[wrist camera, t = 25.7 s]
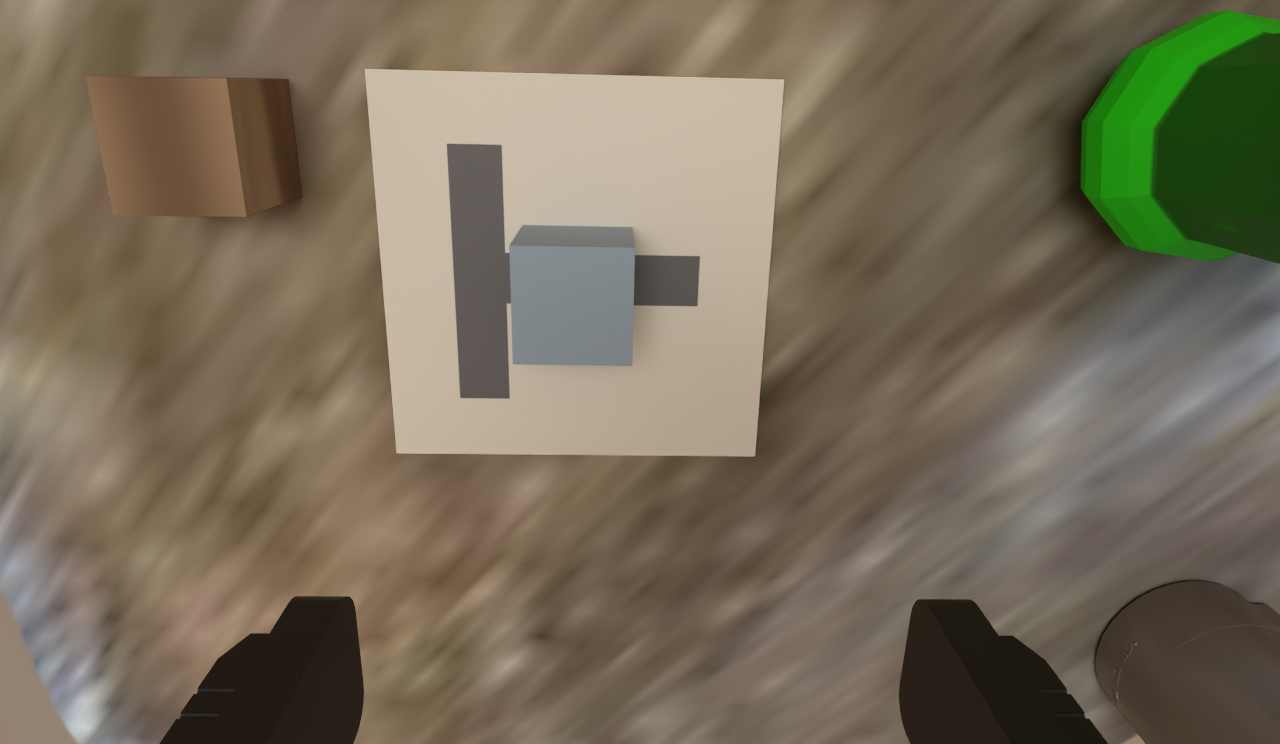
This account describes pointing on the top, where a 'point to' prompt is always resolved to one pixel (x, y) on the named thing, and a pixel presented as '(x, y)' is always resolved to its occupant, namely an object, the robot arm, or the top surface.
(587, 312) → the slate cube
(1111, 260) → the top surface
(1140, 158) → the plastic bottle
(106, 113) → the walnut block
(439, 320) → the board
